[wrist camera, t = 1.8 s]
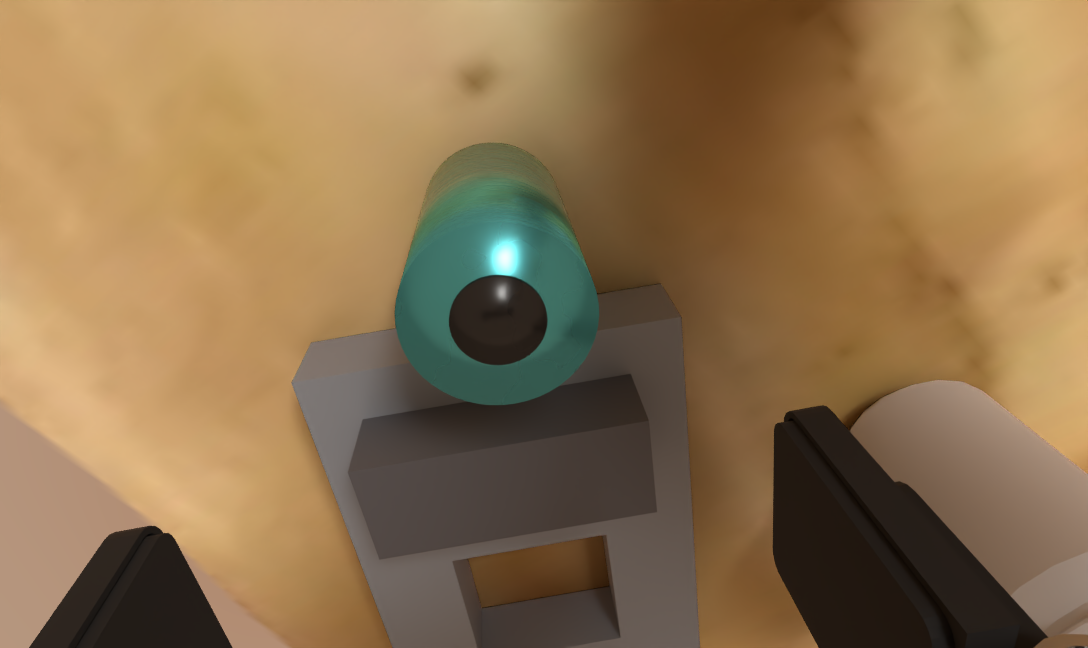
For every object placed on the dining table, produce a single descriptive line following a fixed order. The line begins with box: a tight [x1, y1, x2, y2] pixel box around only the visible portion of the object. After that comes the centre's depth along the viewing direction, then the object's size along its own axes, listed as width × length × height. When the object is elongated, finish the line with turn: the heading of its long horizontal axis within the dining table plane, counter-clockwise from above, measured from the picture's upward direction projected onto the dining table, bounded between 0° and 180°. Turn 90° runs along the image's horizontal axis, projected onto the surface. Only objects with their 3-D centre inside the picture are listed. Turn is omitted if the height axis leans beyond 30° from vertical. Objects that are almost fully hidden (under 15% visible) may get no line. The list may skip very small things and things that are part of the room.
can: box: [850, 380, 1088, 637], centre depth 25 cm, size 8×8×12 cm
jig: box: [292, 284, 700, 648], centre depth 28 cm, size 22×14×6 cm, turn 8°
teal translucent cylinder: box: [395, 143, 599, 405], centre depth 20 cm, size 5×5×9 cm
